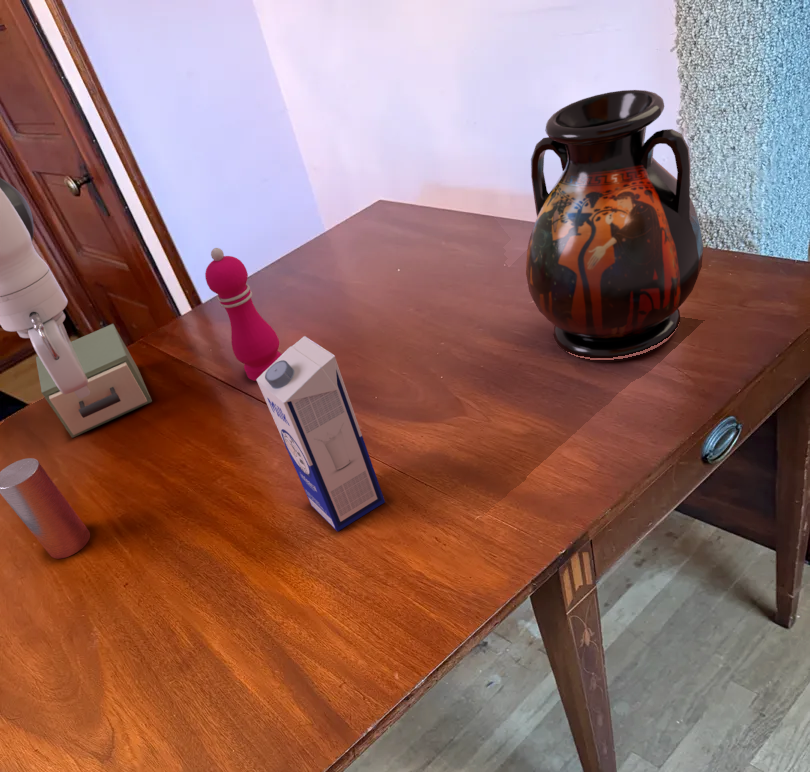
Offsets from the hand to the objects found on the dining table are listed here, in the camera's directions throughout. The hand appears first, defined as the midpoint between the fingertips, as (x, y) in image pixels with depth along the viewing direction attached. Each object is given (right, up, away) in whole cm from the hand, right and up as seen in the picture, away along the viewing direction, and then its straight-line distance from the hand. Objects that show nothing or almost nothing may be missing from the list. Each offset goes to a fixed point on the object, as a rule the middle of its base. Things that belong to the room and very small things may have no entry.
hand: (83, 393), depth 105 cm
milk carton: (+38, -17, -16) cm, 45 cm away
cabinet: (-4, +2, +19) cm, 20 cm away
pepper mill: (+23, +6, +13) cm, 28 cm away
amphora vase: (+74, +7, -4) cm, 74 cm away
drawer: (-3, +1, +16) cm, 16 cm away
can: (+2, -21, -8) cm, 23 cm away
